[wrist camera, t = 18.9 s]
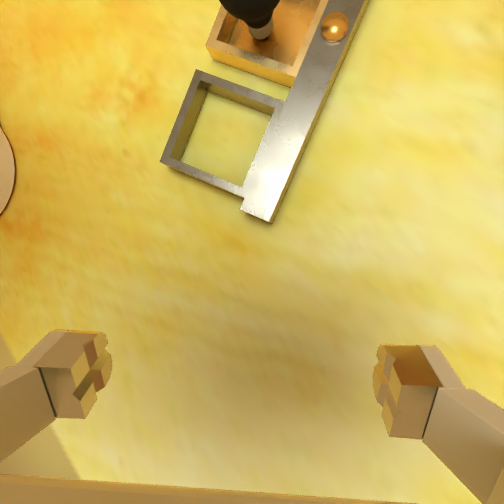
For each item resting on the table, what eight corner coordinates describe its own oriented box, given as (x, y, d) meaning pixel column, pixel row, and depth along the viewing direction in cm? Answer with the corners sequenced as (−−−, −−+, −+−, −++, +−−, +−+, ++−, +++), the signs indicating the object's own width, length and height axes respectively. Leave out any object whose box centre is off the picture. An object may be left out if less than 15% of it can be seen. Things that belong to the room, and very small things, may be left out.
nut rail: (165, 177, 36) (151, 170, 32) (254, -44, 33) (247, -76, 30) (272, 223, 34) (268, 221, 30) (373, -8, 32) (380, -38, 28)
